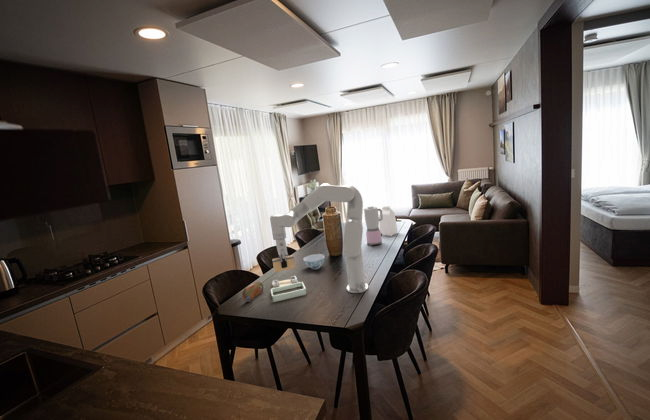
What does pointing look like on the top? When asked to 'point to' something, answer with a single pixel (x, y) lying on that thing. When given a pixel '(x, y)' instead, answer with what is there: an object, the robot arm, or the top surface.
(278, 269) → the tan rectangular block
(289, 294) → the tray
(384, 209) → the milk
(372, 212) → the blender
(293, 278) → the clip holder
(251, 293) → the orange plastic package
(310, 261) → the chinaware
